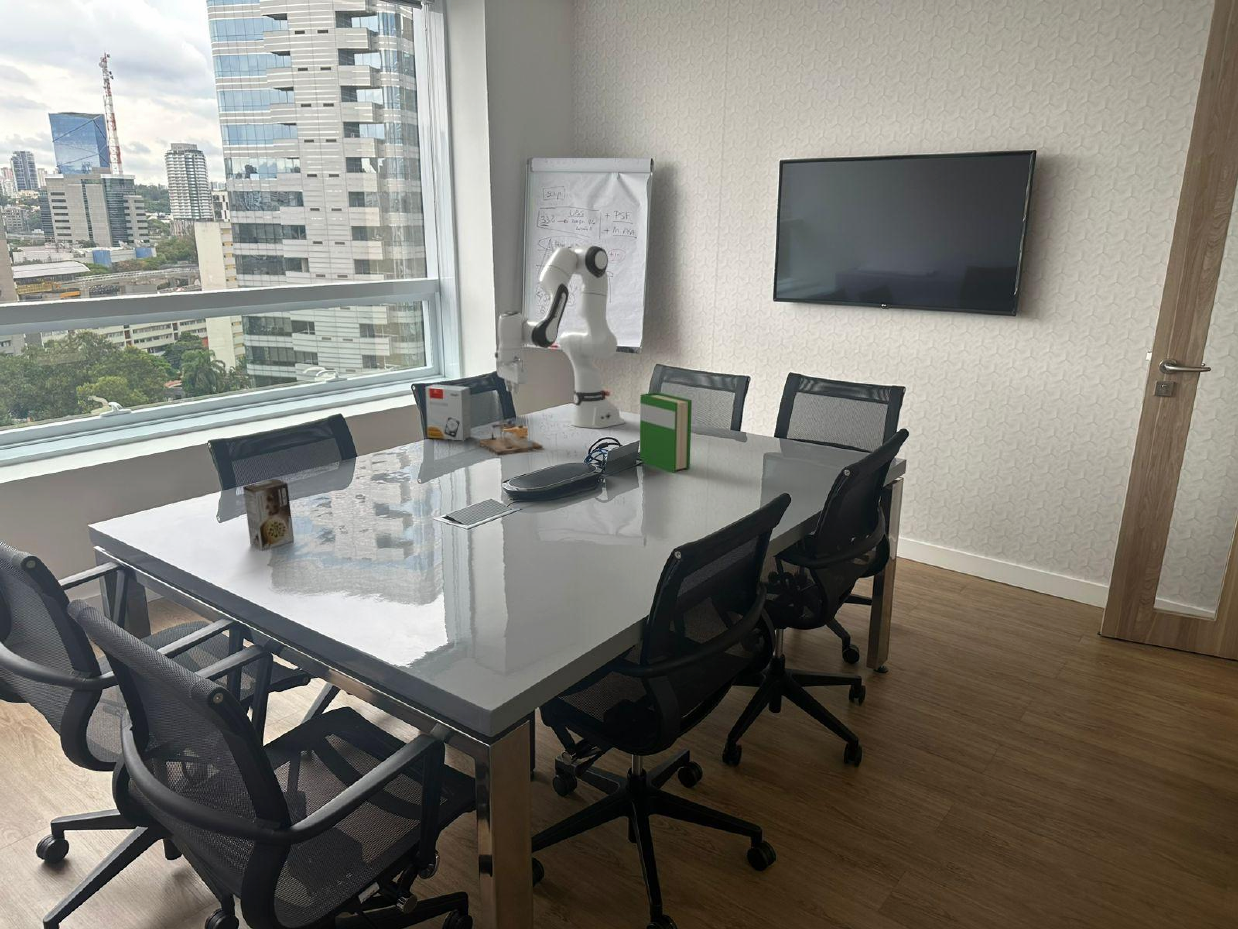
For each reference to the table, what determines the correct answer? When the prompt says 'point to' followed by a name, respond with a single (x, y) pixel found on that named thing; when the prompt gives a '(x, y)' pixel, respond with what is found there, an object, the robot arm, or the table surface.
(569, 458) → the table surface
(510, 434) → the trammel beam
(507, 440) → the hole board
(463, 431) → the hard drive box
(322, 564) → the table surface
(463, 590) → the table surface
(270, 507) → the cookie box
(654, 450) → the hardback book
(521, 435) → the sliding head
